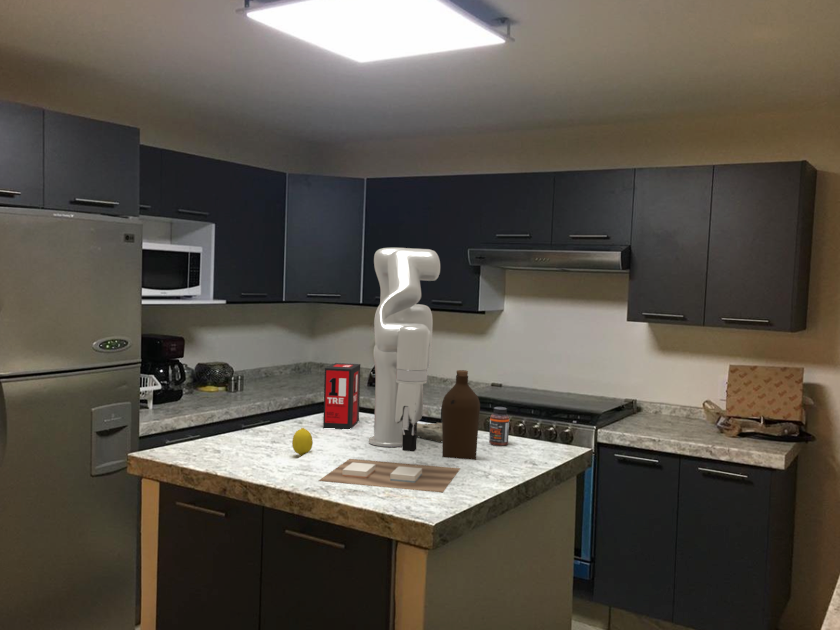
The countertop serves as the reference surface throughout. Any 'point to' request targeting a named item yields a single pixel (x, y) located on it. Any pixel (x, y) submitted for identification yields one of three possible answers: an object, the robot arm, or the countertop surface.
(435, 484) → the board
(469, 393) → the olive oil
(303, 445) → the lemon
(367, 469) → the tile
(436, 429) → the long grey stone
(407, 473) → the tile
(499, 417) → the supplement bottle
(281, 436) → the countertop surface
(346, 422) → the cleaning product box
